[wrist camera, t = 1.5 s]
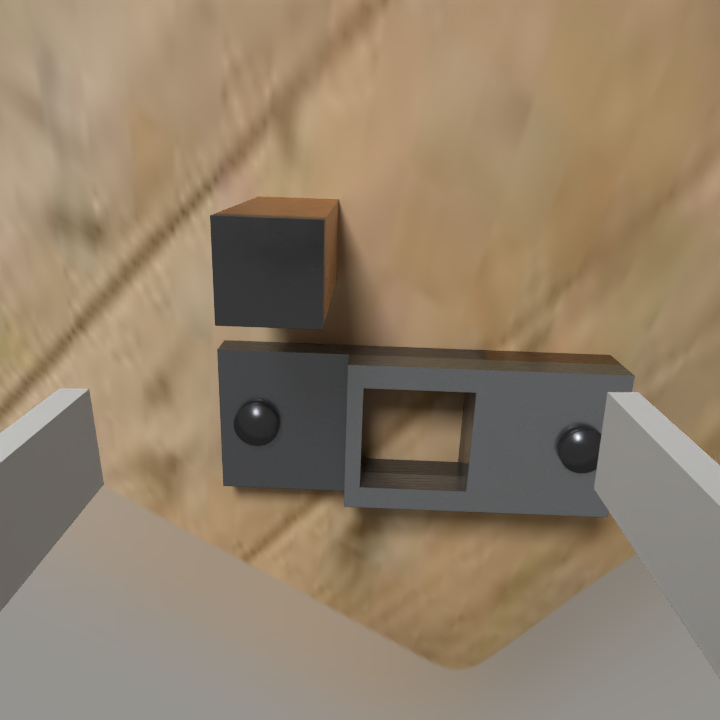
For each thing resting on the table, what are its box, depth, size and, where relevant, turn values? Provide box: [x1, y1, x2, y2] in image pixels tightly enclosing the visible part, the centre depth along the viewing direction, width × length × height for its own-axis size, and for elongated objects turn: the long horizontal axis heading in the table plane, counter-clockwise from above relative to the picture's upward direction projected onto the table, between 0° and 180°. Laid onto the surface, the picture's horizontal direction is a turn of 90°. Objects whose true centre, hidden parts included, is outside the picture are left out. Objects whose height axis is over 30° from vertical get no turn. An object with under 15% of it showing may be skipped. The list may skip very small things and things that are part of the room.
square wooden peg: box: [210, 197, 339, 330], centre depth 33 cm, size 5×5×12 cm
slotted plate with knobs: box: [217, 341, 635, 517], centre depth 40 cm, size 10×26×5 cm, turn 88°
